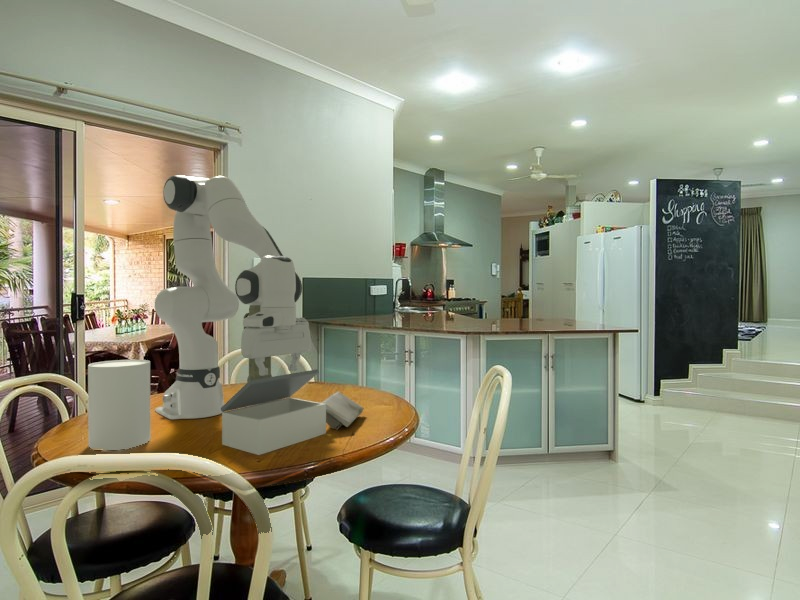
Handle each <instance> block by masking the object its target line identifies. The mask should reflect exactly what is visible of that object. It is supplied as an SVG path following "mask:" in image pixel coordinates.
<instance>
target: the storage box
mask: <svg viewBox="0 0 800 600" xmlns="http://www.w3.org/2000/svg"><path fill="white" fill-rule="evenodd" d="M326 434H327V423H326V404H324V403H321V402H317V401H313V400H312V401H311V400H305V399H302V398H297V397H296V398H295V397H289V398H284V399H279V400H275V401H270V402H266V403H261V404H256V405H252V406H247V407H242V408H238V409H233V410H229V411H224V412H222V413H221V445H222V446H225V447H226V446H227V447H228V448H233V449H236V450H240V451H243V452H246V453H249V454H253V455H257V456H261V455H264V454H268V453H270V452H273V451H276V450H279V449H282V448H285V447H289V446H293V445H295V444H298V443H301V442H305V441H308V440H310V439H314V438H316V437H320V436H322V435H326Z"/></svg>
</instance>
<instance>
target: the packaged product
mask: <svg viewBox="0 0 800 600" xmlns="http://www.w3.org/2000/svg"><path fill="white" fill-rule="evenodd" d="M320 403H324V404H326V425H327V426H329V427H330V428H331V429H332V430H334V429H335V430H337V431H338V430H339V429H340V428H341V427H342V426H344V427H346V428H348V427H349V426H350V425H351V424H352V423H353V422H354V421H355V420H356V419H357V418H358V417H359V416H360V415H362V413H363V411H364V409H365V408H364V407H363V406H361V405H360V404H358V403H357V402H356V401H354V400H352V399H351V398H350V397H348V396H346V395H345V394H343V393H342V392H340V391H339V390H338V391H336V392H335V393H333V394H331V395H330V396H328V397H327V398H325V399H324V400H323V401H321V402H320Z"/></svg>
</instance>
